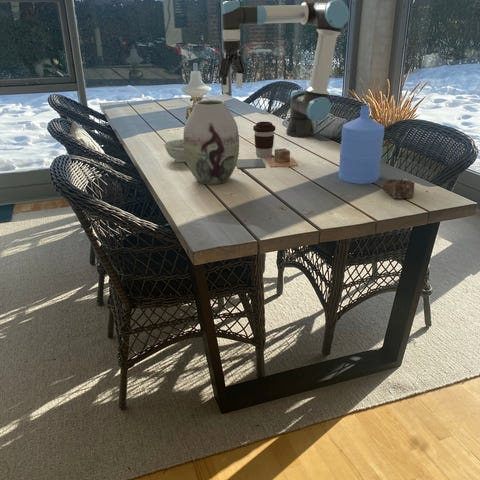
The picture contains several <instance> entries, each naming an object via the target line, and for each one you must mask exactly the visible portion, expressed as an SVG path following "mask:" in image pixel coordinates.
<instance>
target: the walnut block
mask: <svg viewBox="0 0 480 480" xmlns="http://www.w3.org/2000/svg"><path fill="white" fill-rule="evenodd" d="M290 157H291V151H290V150H289V149H287V148H276V149H274V157H273V158H274V161H276V162H277V163H279V164H281V163H290Z"/></svg>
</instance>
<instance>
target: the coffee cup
mask: <svg viewBox="0 0 480 480" xmlns="http://www.w3.org/2000/svg"><path fill="white" fill-rule="evenodd" d="M252 127H253V128H252V129H253V131H254V136H253V137H254V147H255V156H256V157H257V158H271V157H272V156H273V150H274V149H273V148H274V140H275V131H276V125H274V124H273V122H270V121H258V122H256V124H255V125H254V126H252Z"/></svg>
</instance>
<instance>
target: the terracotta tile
mask: <svg viewBox="0 0 480 480" xmlns="http://www.w3.org/2000/svg"><path fill="white" fill-rule="evenodd" d="M265 158H266V162H267V164H268V166H269V167H270V168H282V167H283V168H284V167H285V168H286V167H299V163H298V162H297V161H296V160H295V158H294V157H291V156H290V163H281V164H279V163H277V162H276V161H274V157H265Z"/></svg>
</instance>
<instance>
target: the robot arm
mask: <svg viewBox="0 0 480 480" xmlns="http://www.w3.org/2000/svg"><path fill="white" fill-rule="evenodd" d="M221 10H222V11H221V16H222V19H221V20H222V39H223V41H222V44H223V45H222V48H223V50H224V51H225V52H222V54H221V63H220V67H219V73H218V75H219V78H221V80H222V81H221V82H222V83H221V84H222V93H226V94H227V93H229V92H230V90H229V89H230V88H229V85H230V84H229V76H228V75H229V73H230V69H231V67H232V66H231V65H234V68H235V70H236V73H235V74H236V77H235V78H236V79H235V80H236V85H235V86H236V89H243V74H245V70H246V69H245V65H244V61H243V57H242V51H241V41H240V39H241V26H254V25H255V26H256V25H257V26H259V25H264V24H290V23H291V24H292V23H295V24H297V23H300V24H301V25H303V26H305V25H307V26H315V27H316V32H317V33H318V38H317V42H316V49H315V53H314V54H315V55H314V58H313V65H312V66H313V67H312V71H311V76H310V81H309V87H307V88H306V89H295V90H292V91H291V93H290V107H289V110H290V112H289V113H290V114H289V122H288V125H287V128H286V131H285V133H286V136H288V137H291V138H309V137H314V136H315V135H316V130H315V129H316V128H315V126H314V122H313V121H316V122H318V121H323V120H325V118H326V117H328V115H329V114H330V113H331V109H332V107H331V106H332V104H331V101H330V100H329V96H330V92H329V91H328V85H329V80H330V75H331V70H332V65H333V59H334V53H335V49H336V44H337V39H338V36H339V35H341V34H342V29H343V27H344V26H345V25H346V24H347V23H348V21H349V17H350V10H349V8H348V6H347V3H346V2H344V1H343V0H316V1H309V2H302V3H301V4H295V5H294V4H291V5H290V4H289V5H285V4H284V5H282V4H281V5H240V1H239V0H227V1H223V2H222V7H221Z"/></svg>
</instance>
